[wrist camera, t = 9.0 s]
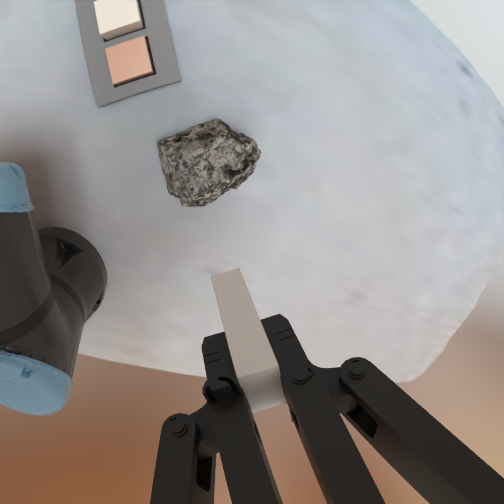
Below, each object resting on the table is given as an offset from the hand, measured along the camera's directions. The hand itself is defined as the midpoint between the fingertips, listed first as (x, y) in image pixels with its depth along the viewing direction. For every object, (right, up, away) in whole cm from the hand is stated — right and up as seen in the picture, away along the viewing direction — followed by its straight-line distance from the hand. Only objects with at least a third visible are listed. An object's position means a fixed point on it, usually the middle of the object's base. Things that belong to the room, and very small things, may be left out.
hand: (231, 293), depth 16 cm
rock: (-5, +14, +22) cm, 27 cm away
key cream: (-14, +29, +9) cm, 33 cm away
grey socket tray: (-15, +32, +9) cm, 37 cm away
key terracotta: (-13, +24, +13) cm, 30 cm away
